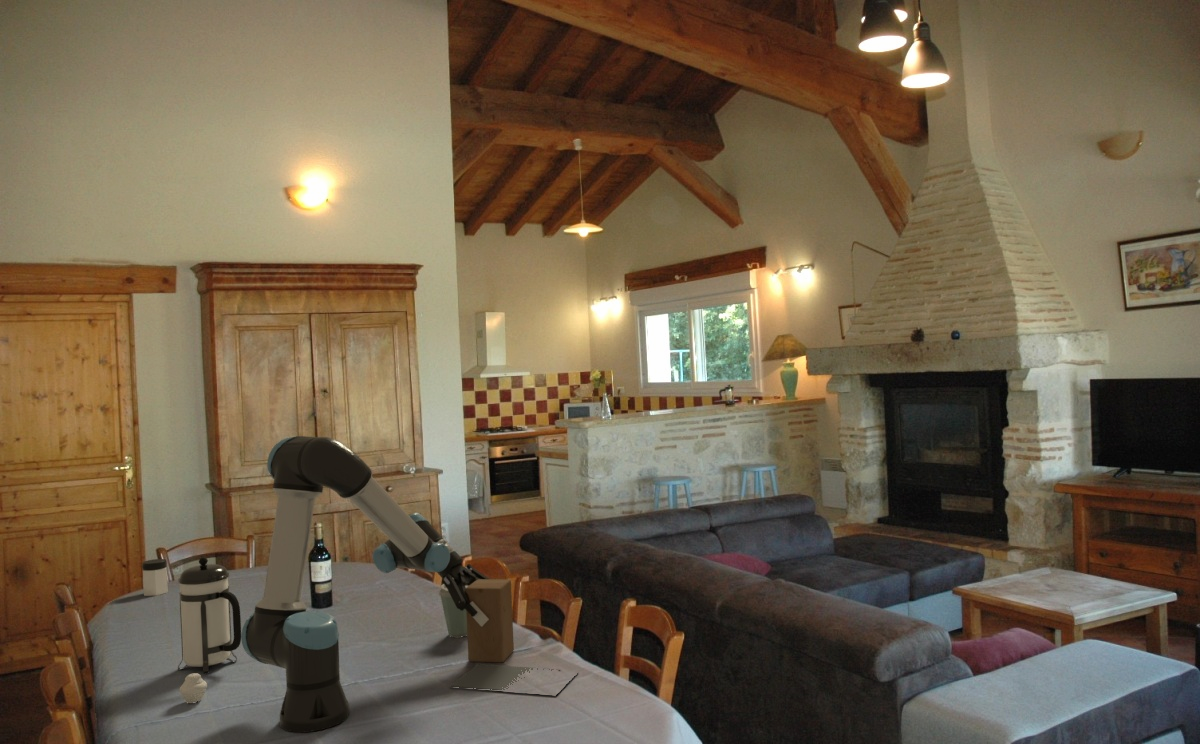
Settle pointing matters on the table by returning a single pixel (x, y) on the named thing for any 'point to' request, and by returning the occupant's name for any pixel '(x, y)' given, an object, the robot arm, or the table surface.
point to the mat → (490, 677)
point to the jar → (155, 577)
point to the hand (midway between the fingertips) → (496, 615)
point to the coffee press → (207, 616)
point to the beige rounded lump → (193, 688)
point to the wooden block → (490, 621)
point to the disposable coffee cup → (453, 614)
